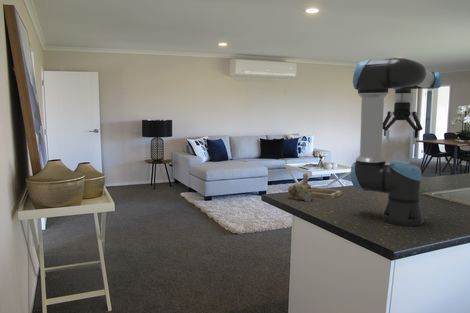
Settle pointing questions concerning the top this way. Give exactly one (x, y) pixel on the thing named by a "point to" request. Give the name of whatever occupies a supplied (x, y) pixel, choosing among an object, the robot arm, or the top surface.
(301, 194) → the rock
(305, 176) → the wooden tray
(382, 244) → the top surface
